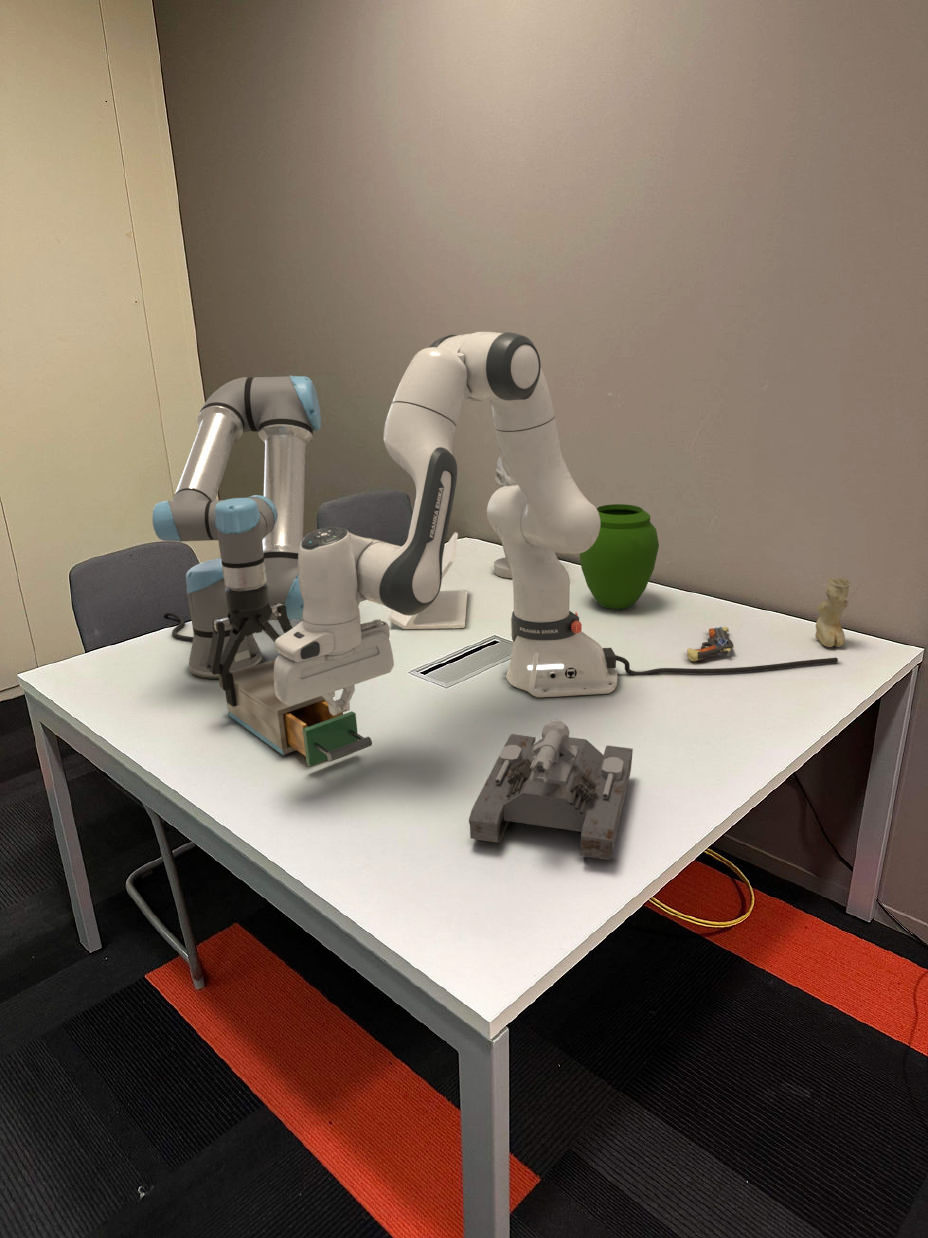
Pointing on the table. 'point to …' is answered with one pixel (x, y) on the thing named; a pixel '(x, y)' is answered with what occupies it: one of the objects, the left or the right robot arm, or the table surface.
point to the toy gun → (712, 644)
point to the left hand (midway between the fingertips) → (260, 694)
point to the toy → (555, 789)
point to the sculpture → (832, 613)
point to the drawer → (323, 733)
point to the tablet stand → (438, 603)
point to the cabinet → (262, 705)
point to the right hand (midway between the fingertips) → (339, 712)
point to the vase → (620, 556)
